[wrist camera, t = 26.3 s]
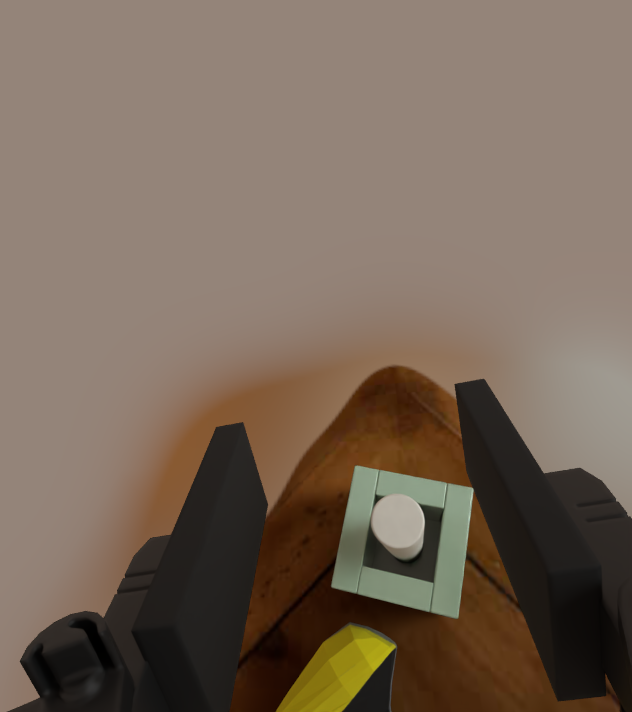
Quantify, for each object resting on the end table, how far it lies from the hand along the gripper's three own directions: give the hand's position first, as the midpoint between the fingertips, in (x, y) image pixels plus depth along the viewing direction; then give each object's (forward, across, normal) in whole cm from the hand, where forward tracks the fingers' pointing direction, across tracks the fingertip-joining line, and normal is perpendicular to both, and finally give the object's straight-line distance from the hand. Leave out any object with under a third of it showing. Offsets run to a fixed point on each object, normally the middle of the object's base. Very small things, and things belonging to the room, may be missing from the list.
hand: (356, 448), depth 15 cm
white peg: (+11, +1, -14) cm, 18 cm away
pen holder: (+12, +1, -14) cm, 18 cm away
